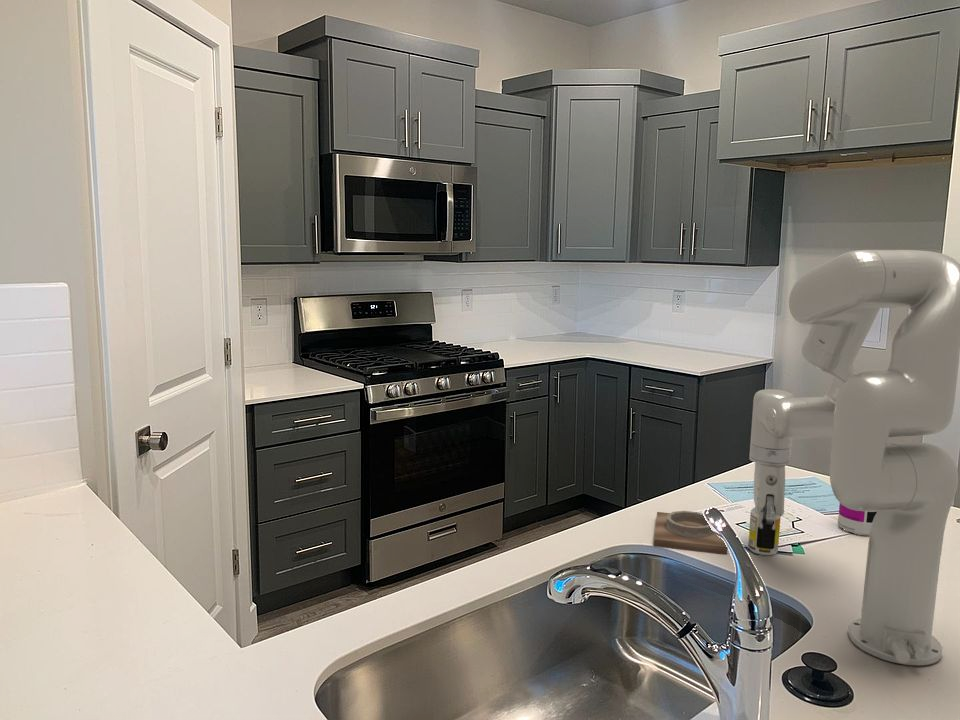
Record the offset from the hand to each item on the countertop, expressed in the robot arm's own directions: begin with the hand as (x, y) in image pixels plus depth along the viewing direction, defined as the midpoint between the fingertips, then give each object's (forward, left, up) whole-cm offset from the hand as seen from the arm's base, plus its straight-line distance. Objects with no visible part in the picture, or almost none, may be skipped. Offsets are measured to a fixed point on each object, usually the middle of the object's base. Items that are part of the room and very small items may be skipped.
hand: (763, 540), depth 151 cm
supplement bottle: (0, 0, -2) cm, 2 cm away
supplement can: (+18, -21, -2) cm, 28 cm away
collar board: (+4, +14, -2) cm, 15 cm away
